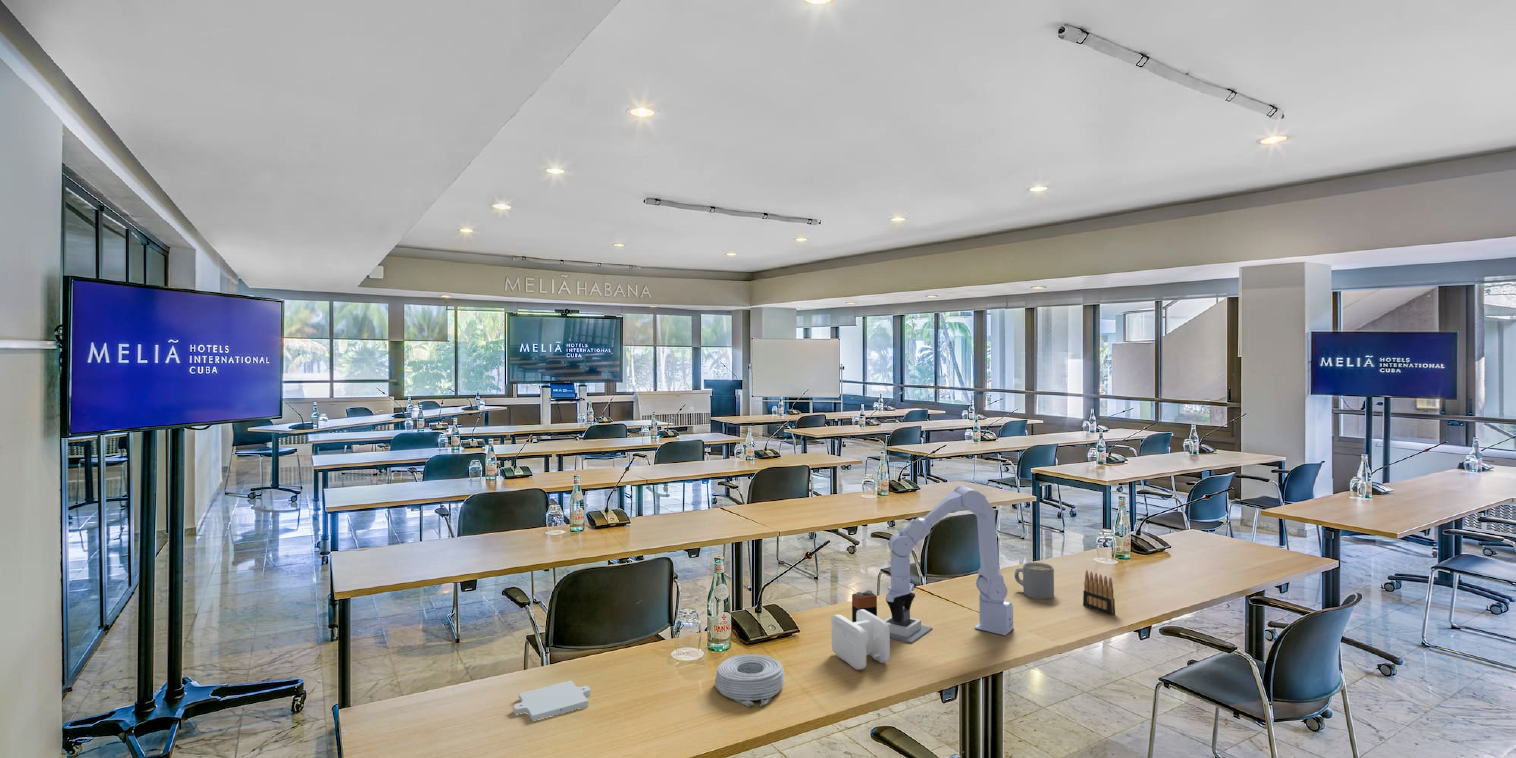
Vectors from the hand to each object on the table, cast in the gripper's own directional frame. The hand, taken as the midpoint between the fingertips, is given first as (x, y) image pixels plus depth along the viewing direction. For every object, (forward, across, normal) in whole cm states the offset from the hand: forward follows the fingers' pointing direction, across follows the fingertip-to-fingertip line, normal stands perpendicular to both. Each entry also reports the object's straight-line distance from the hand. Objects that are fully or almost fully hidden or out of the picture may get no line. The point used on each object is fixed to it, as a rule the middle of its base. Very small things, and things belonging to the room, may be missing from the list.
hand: (900, 619), depth 208 cm
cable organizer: (+4, +26, +1) cm, 26 cm away
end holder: (+4, 0, 0) cm, 4 cm away
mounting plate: (+4, +92, -45) cm, 103 cm away
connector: (+3, 0, 0) cm, 3 cm away
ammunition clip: (+4, -56, +43) cm, 71 cm away
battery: (+4, +1, -12) cm, 13 cm away
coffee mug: (+4, -61, +21) cm, 65 cm away
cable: (+4, +57, -13) cm, 59 cm away
